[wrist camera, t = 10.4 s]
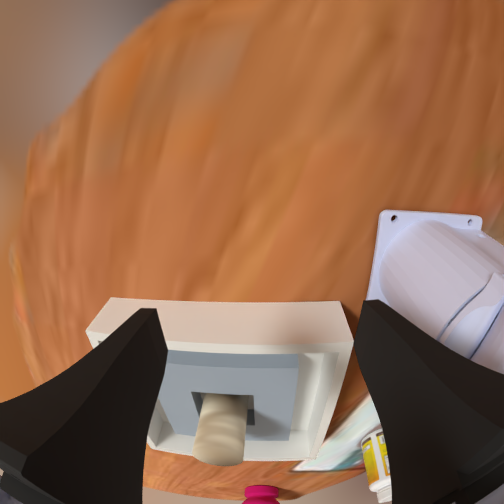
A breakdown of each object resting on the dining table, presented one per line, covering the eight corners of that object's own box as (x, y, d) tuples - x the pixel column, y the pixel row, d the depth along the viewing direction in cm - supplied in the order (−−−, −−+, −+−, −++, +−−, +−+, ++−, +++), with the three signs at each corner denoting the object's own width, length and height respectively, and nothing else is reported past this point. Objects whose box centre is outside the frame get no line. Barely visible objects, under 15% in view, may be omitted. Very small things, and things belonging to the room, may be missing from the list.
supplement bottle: (368, 447, 30) (378, 506, 21) (354, 437, 29) (365, 503, 19) (403, 432, 29) (419, 490, 19) (393, 420, 27) (411, 486, 18)
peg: (242, 378, 23) (234, 446, 16) (253, 403, 24) (248, 465, 18) (199, 381, 23) (183, 446, 17) (213, 405, 25) (203, 465, 18)
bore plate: (297, 349, 21) (298, 367, 19) (288, 425, 26) (288, 440, 24) (150, 343, 22) (142, 360, 20) (179, 419, 27) (175, 433, 25)
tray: (339, 300, 20) (353, 341, 16) (313, 426, 27) (315, 459, 23) (111, 297, 21) (85, 330, 17) (160, 419, 28) (151, 448, 24)
